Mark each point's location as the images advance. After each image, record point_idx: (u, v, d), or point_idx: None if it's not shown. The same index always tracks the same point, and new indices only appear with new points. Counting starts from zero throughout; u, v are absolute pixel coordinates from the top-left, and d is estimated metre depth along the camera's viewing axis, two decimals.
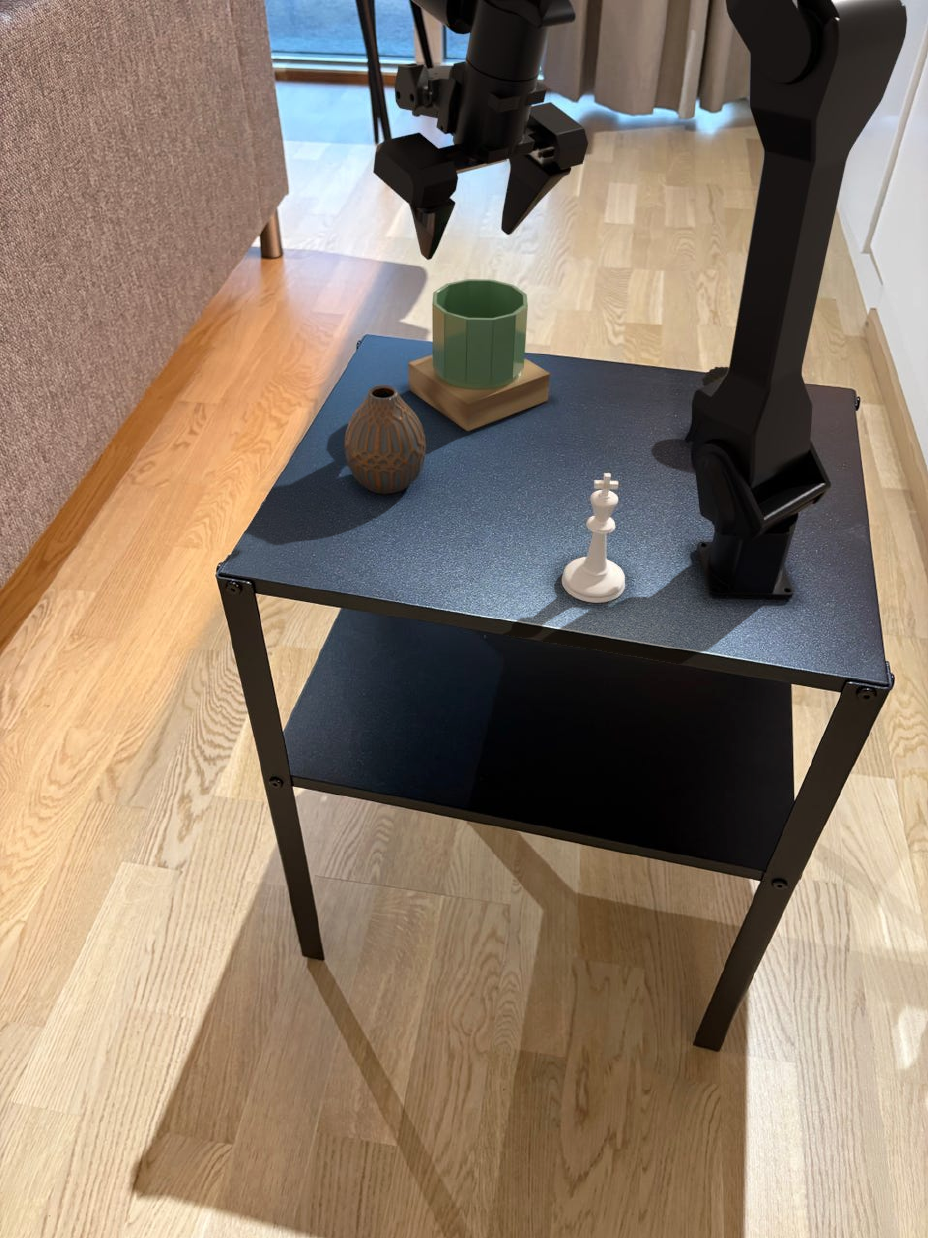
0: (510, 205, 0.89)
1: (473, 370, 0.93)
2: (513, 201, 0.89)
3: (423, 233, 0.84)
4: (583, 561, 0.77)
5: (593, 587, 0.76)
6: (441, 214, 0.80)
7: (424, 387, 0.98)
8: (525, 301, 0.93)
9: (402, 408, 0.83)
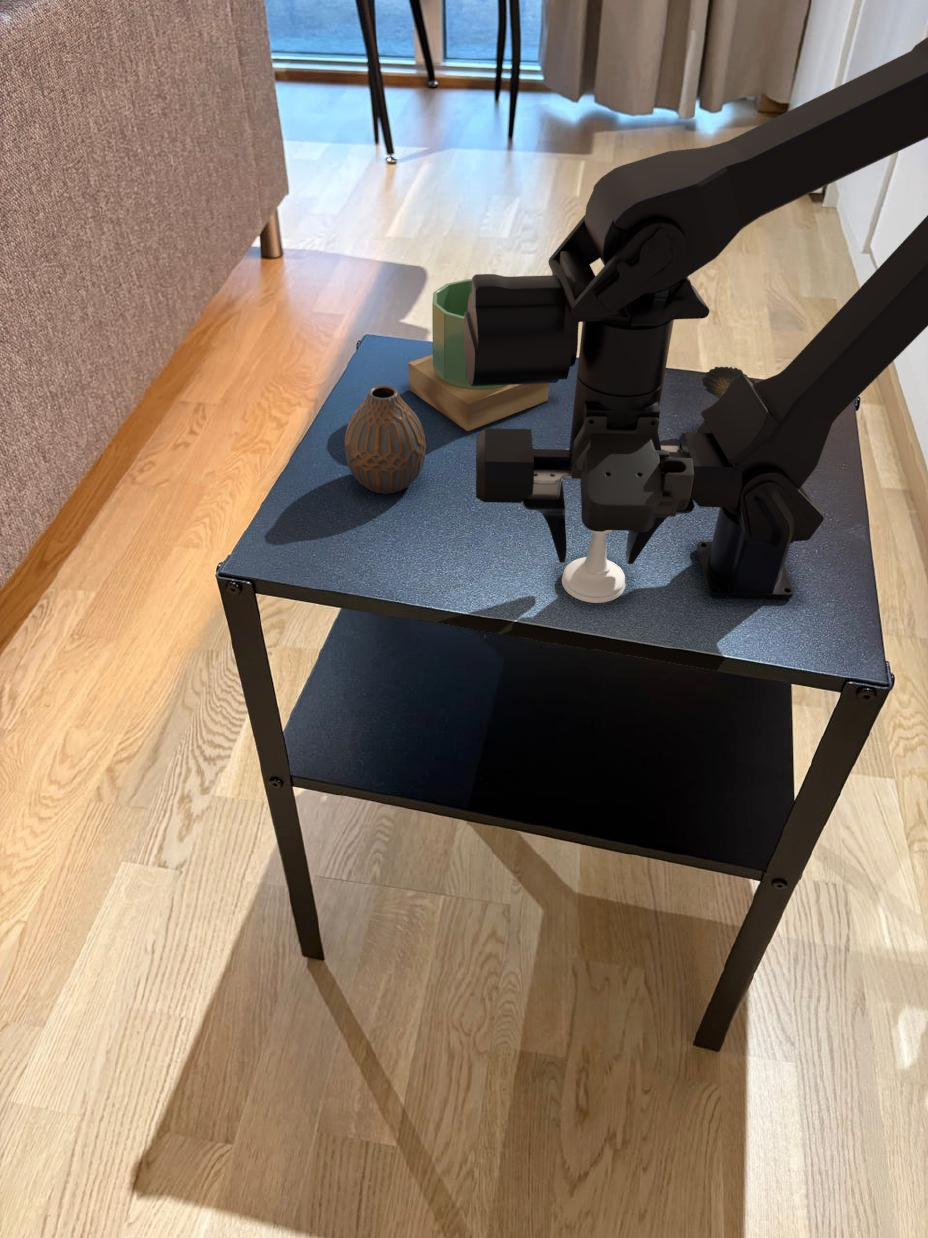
0: None
1: None
2: None
3: None
4: (583, 561, 0.77)
5: (593, 587, 0.76)
6: None
7: (424, 387, 0.98)
8: None
9: (402, 408, 0.83)
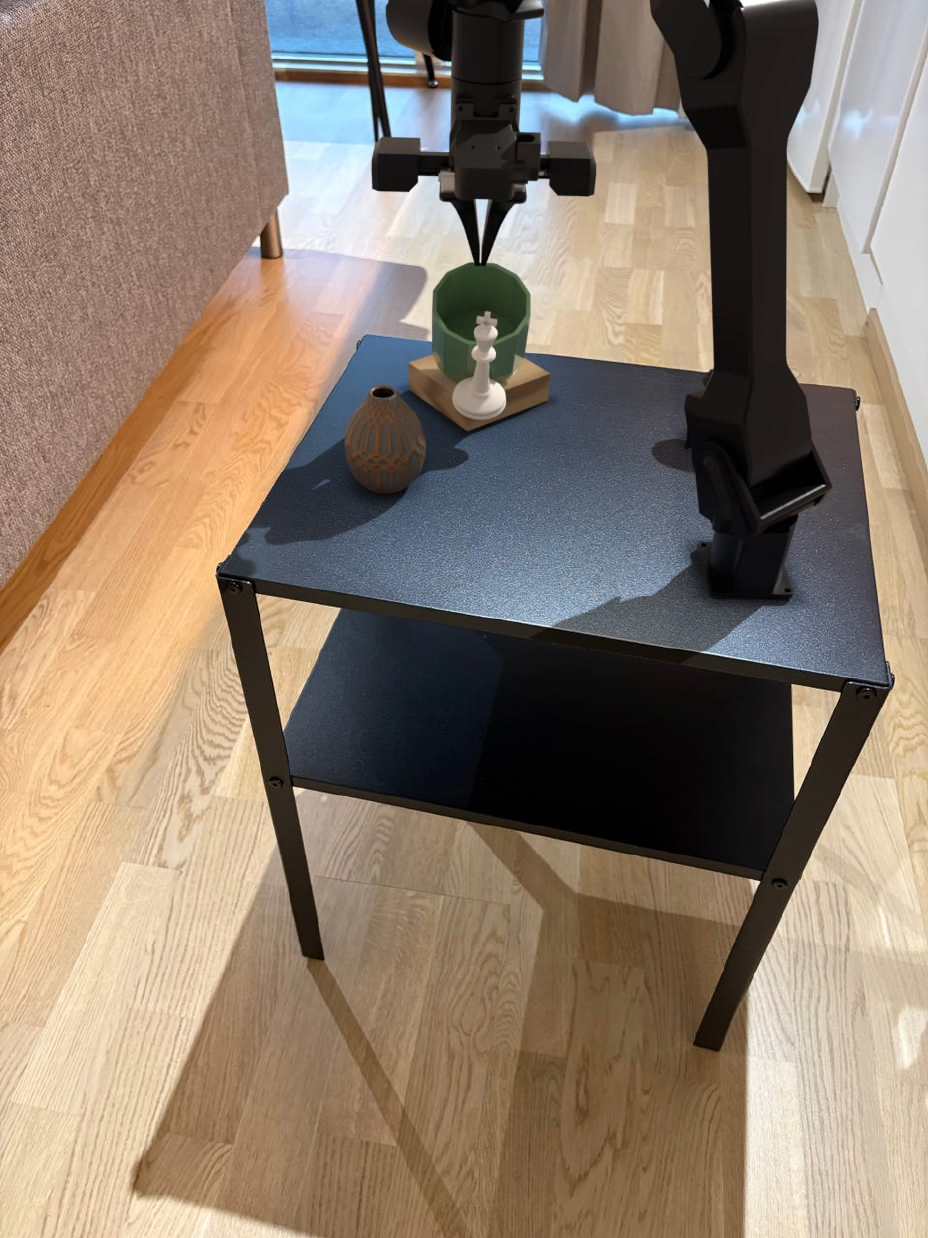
0: (478, 236, 0.89)
1: None
2: None
3: None
4: (471, 381, 0.91)
5: (474, 405, 0.90)
6: None
7: (424, 387, 0.98)
8: (528, 308, 0.90)
9: (402, 408, 0.83)
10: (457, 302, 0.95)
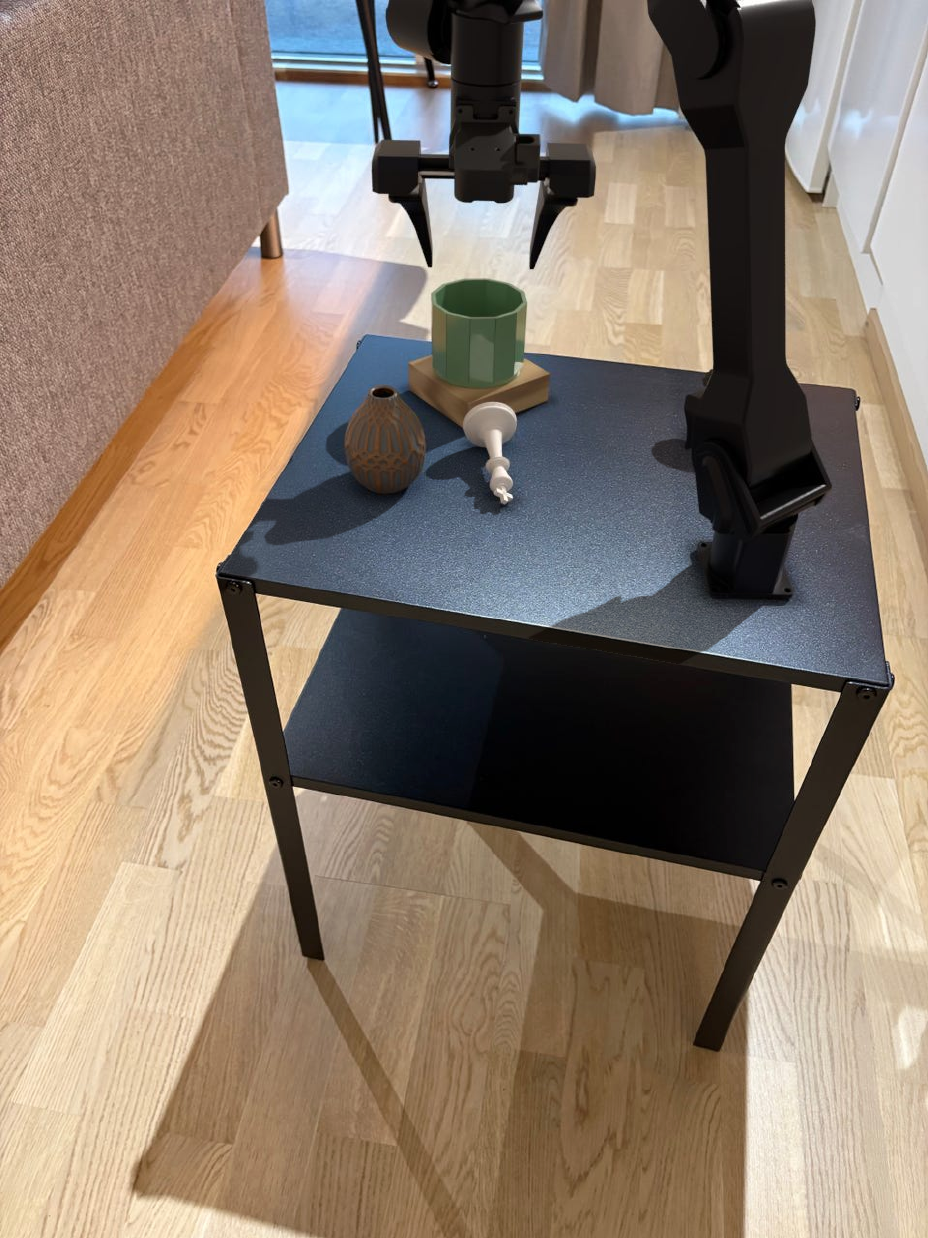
0: (430, 237, 0.89)
1: (476, 369, 0.93)
2: (429, 231, 0.89)
3: None
4: (486, 428, 0.89)
5: (477, 442, 0.91)
6: None
7: (424, 387, 0.98)
8: (524, 299, 0.93)
9: (402, 408, 0.83)
10: None
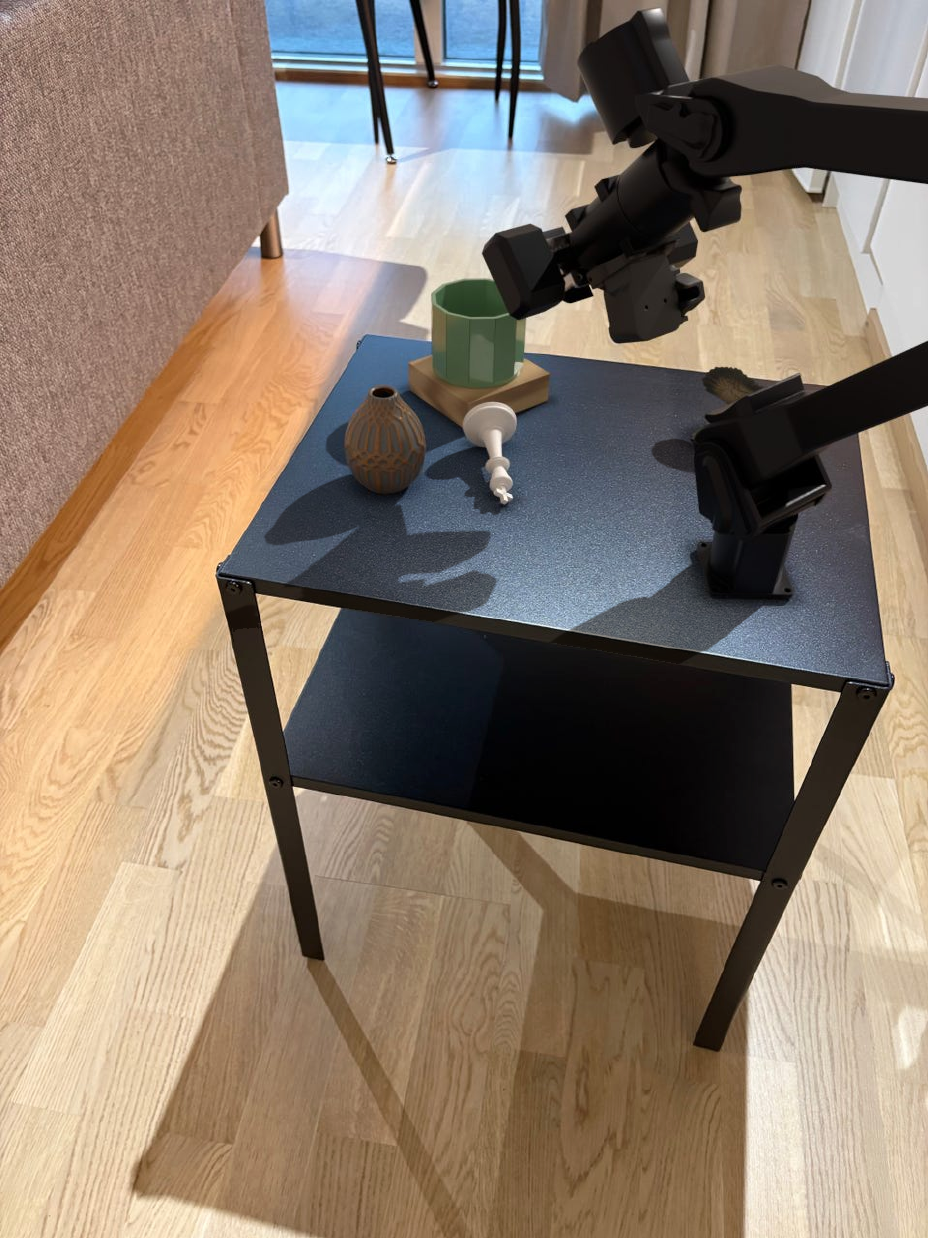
0: None
1: (476, 369, 0.93)
2: None
3: None
4: (486, 428, 0.89)
5: (477, 442, 0.91)
6: None
7: (424, 387, 0.98)
8: None
9: (402, 408, 0.83)
10: None
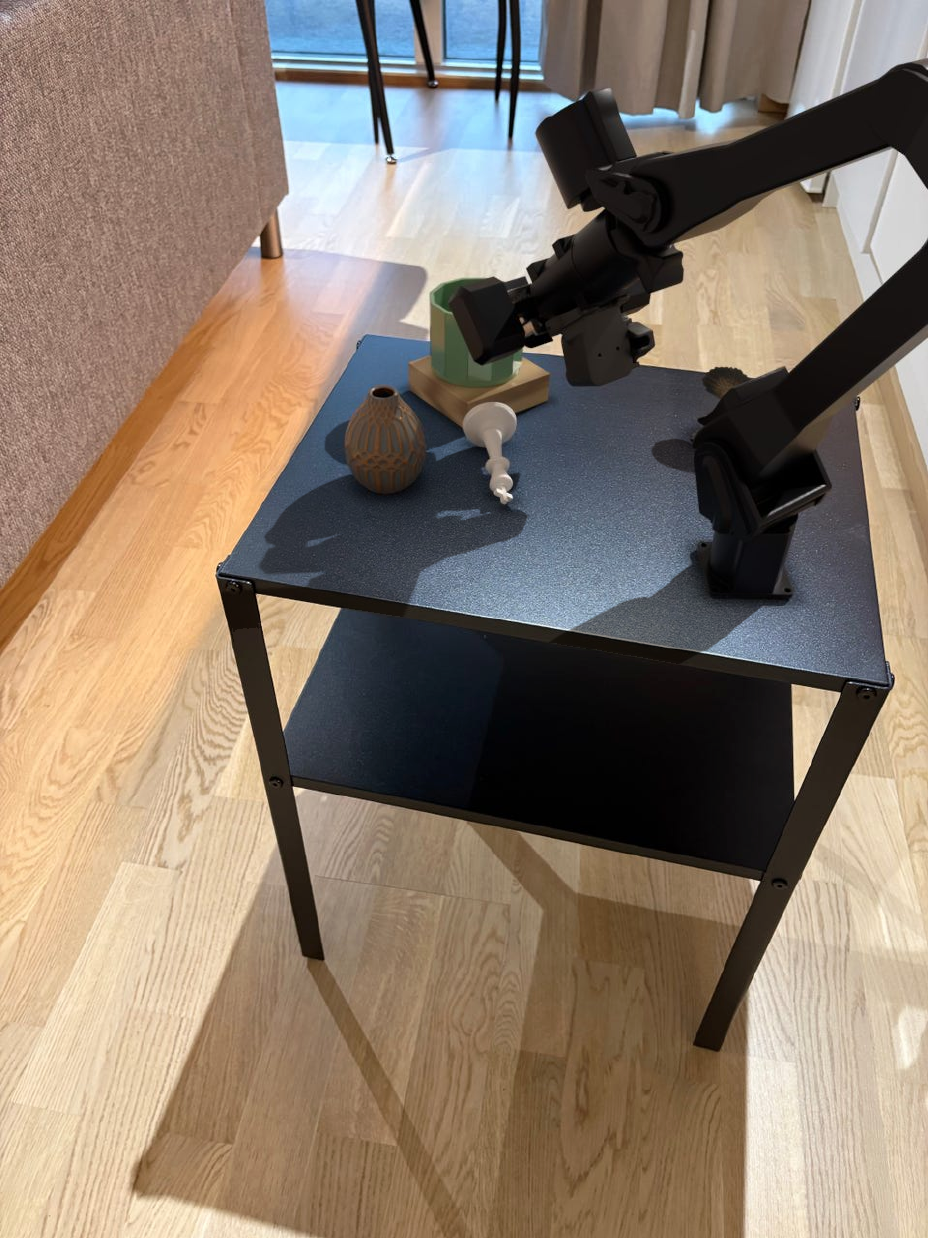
0: None
1: (474, 368, 0.93)
2: None
3: None
4: (486, 428, 0.89)
5: (477, 442, 0.91)
6: None
7: (424, 387, 0.98)
8: None
9: (402, 408, 0.83)
10: None
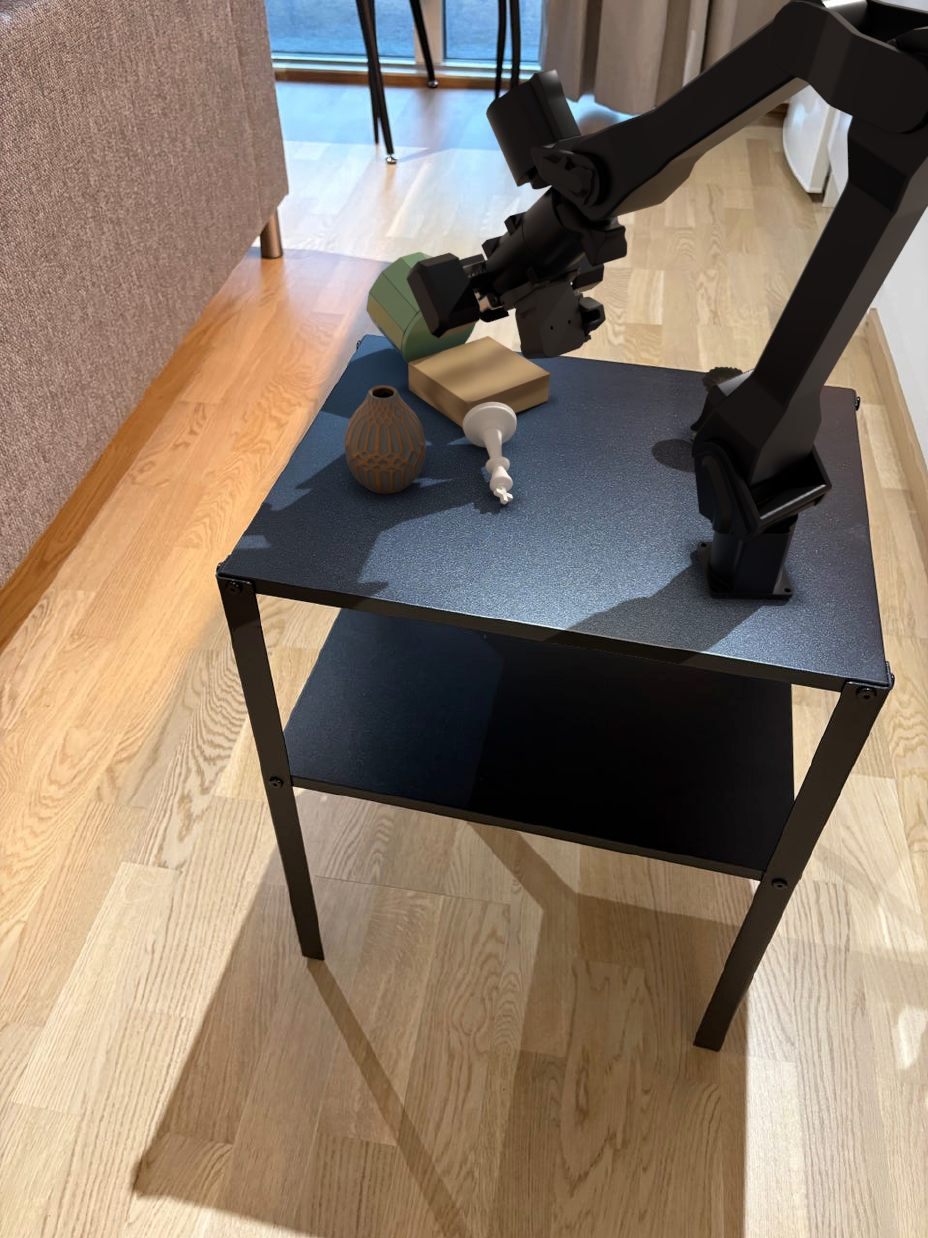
0: None
1: (414, 298, 0.97)
2: None
3: None
4: (486, 428, 0.89)
5: (477, 442, 0.91)
6: None
7: (424, 387, 0.98)
8: None
9: (402, 408, 0.83)
10: None
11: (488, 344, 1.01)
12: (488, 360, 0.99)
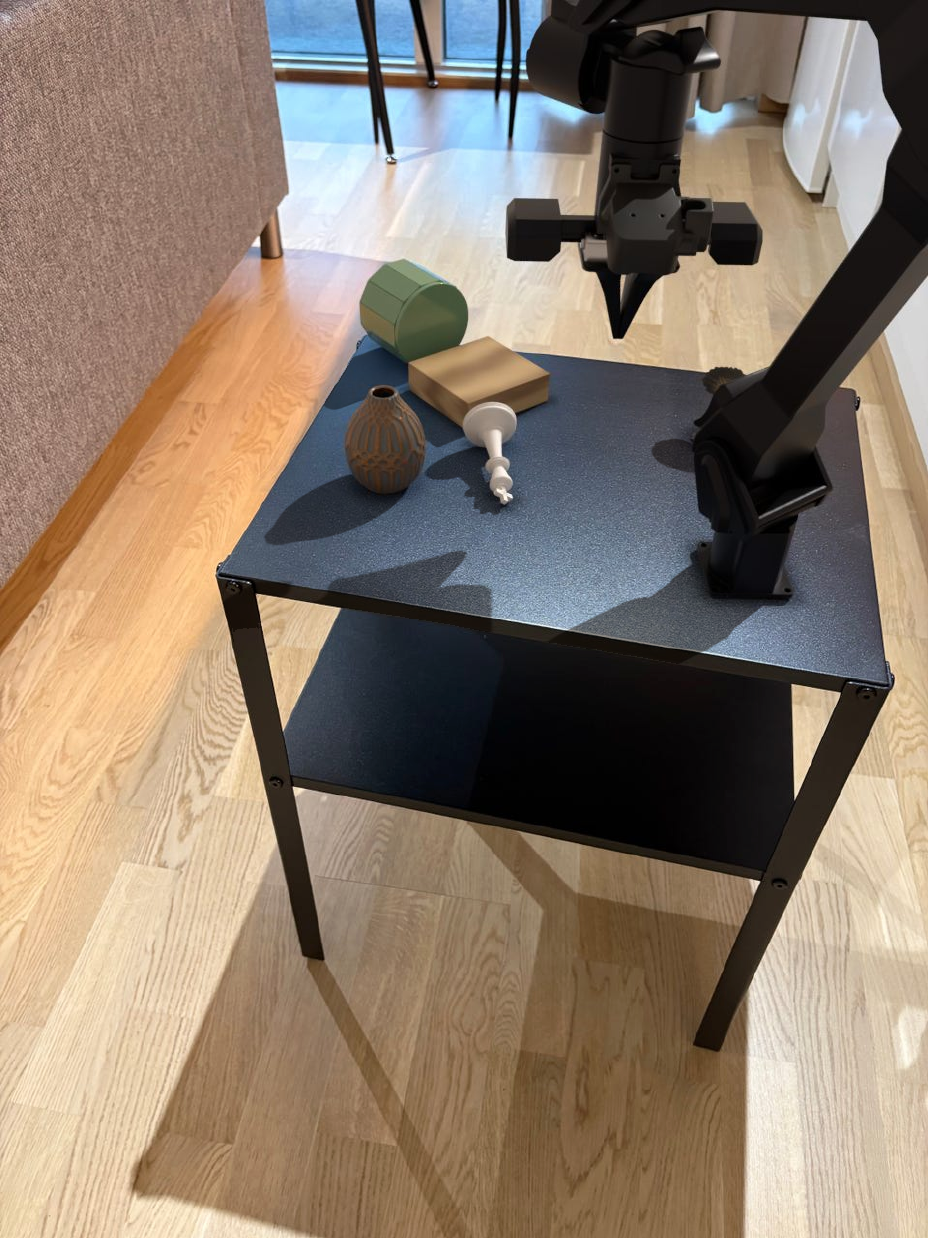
0: None
1: (400, 292, 0.99)
2: None
3: None
4: (486, 428, 0.89)
5: (477, 442, 0.91)
6: None
7: (424, 387, 0.98)
8: None
9: (402, 408, 0.83)
10: None
11: (488, 344, 1.01)
12: (488, 360, 0.99)
